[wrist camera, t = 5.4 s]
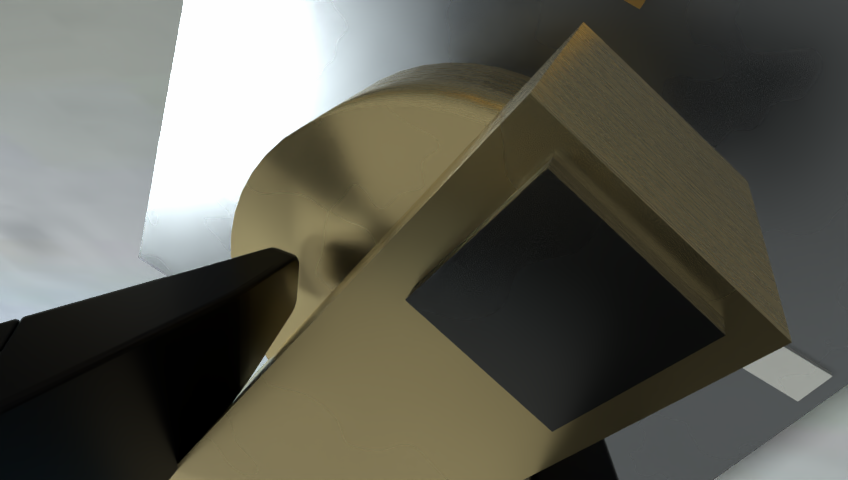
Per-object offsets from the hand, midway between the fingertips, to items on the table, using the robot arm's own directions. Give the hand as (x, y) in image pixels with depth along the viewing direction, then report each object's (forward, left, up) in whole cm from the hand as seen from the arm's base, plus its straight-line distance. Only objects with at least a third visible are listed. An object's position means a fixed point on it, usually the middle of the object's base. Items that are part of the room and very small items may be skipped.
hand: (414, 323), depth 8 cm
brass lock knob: (0, 0, -3) cm, 3 cm away
